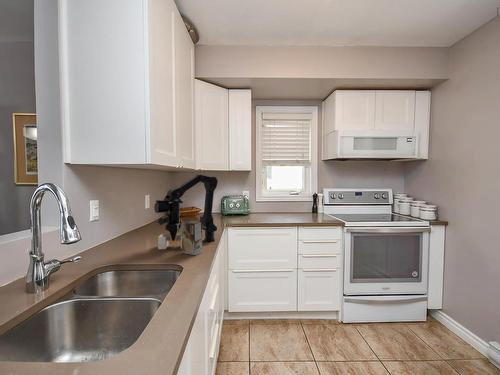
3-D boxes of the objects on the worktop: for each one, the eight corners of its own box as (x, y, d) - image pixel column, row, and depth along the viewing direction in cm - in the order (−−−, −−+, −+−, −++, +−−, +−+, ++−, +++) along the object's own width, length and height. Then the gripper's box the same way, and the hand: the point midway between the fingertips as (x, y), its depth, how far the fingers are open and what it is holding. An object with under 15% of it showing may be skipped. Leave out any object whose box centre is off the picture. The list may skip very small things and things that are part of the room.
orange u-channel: (172, 240, 147) (172, 228, 147) (178, 240, 148) (178, 228, 147) (170, 243, 140) (170, 230, 140) (176, 243, 141) (175, 230, 140)
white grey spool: (158, 249, 140) (158, 236, 139) (161, 245, 147) (160, 233, 146) (188, 248, 142) (188, 235, 141) (189, 245, 148) (189, 233, 148)
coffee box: (203, 252, 135) (203, 222, 134) (195, 255, 129) (195, 224, 128) (189, 249, 139) (189, 220, 138) (181, 252, 133) (181, 222, 133)
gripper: (163, 209, 151) (163, 235, 152) (155, 214, 133) (155, 243, 134) (182, 209, 153) (182, 235, 153) (177, 213, 134) (177, 243, 135)
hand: (174, 239), depth 144 cm, fingers closed on orange u-channel, 7 cm apart
